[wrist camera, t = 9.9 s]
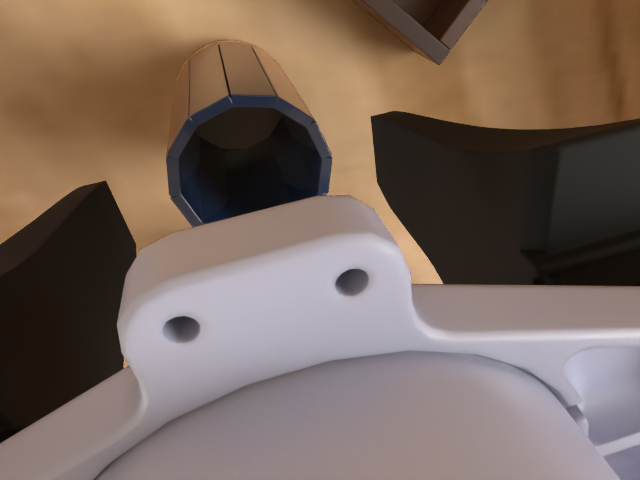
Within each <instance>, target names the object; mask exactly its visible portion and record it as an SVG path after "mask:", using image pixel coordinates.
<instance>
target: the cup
mask: <svg viewBox="0 0 640 480" xmlns="http://www.w3.org/2000/svg"><path fill="white" fill-rule="evenodd" d="M331 155H332V154H331V152H330V150H329V147H328V145H327V143H326V141H325V139H324V137H323V135H322V133H321V131H320V129H319V126H318V124H317V122H316V121H315V119H314V118H313V116H312V114H311V113H310V111H309V110H308V108H307V107H306V105H305V104H304V102H303V100H302V99H301V97H300V96H299V94H298V93H297V91H296V90H295V88H294V87H293V85H292V83H291V82H290V80H289V79H288V77H287V76H286V74H285V73H284V71H283V69H282V68H281V66H280V65H279V63H277V61H276V60H275V59H273V58H272V57H271V56H270V55H269V54H267V53H266V52H265V51H263V50H262V49H260V48H258V47H257V46H255V45H252V44H250V43H247V42H243V41H237V40H223V41H217V42H214V43H210V44H208V45H206V46H204V47H202V48H201V49H199V50H197V51H196V52H195V53H194V54H193V55H192V56H191V57H190V58H189V59H188V60H187V61H186V62H185V64H184V66H183V67H182V69H181V71H180V73H179V76H178V79H177V81H176V83H175V86H174V93H173V102H172V111H171V120H170V128H169V137H168V146H167V155H166V163H167V175H168V187H169V195H170V196H171V200H172V201H173V202H174V204H175V205H176V206H177V207H178V209H179V210H180V211H181V213H182V214H183V215H184V216H185V218H186V219H187V220H188V222H189V223H190V224H191V226H192V227H197V226H201V225H205V224H209V223H212V222H216V221H220V220H224V219H228V218H232V217H236V216H240V215H244V214H248V213H252V212H255V211H259V210H263V209H267V208H271V207H275V206H279V205H283V204H287V203H291V202H295V201H298V200H302V199H306V198H310V197H314V196H327V194H326V193H328V191H329V182H330V174H331V165H332V157H331Z"/></svg>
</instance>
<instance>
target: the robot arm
mask: <svg viewBox="0 0 640 480" xmlns="http://www.w3.org/2000/svg"><path fill="white" fill-rule="evenodd" d="M371 123H372V134H373V144H374V154H375V164H376V174H377V183H378V185H379V187H380V189H381V191H382V193H383V195H384V197H385V199H386V201H387V202H388V204H389V206H390V208H391V209H392V210H393V212H394V213H395V215H396V216H397V217H398V219H399V220H400V221H401V223H402V224H403V225H404V227H405V228H406V229H407V231H408V232H409V233H410V235H411V236H412V237H413V238H414V240H415V241H416V242H417V244H418V245H419V246H420V248H421V249H422V250H423V252H424V253H425V254H426V256H427V257H428V259H429V260H430V262H431V263H432V265H433V266H434V268H435V269H436V271H437V273H438V275H439V276H440V278H441V280H442V282H443V283H444V284H411V273H410V270H409V268H408V266H407V263H406V261H405V259H404V256H403V254H402V252H401V249H400V247H399V246H398V244H397V243H396V241H395V240H394V238H393V237H392V235H391V234H390V232H389V231H388V229H387V228H386V226H385V225H384V223H383V221H382V220H381V218H380V217H379V215H378V214H377V212H376V211H375V209H373V208H371V207H369V206H368V205H366V204H364V203H362V202H361V201H359V200H357V199H355V198H354V197H352V196H350V195H336V196H314V197H310V198H306V199H302V200H298V201H295V202H291V203H287V204H283V205H279V206H275V207H271V208H267V209H263V210H259V211H255V212H252V213H248V214H244V215H240V216H236V217H232V218H228V219H224V220H220V221H216V222H212V223H209V224H205V225H201V226H197V227H193V228H189V229H185V230H181V231H177V232H173V233H171V234H169V235H167V236H165V237H163V238H161V239H159V240H157V241H156V242H154V243H152V244H150V245H148V246H146V247H144V248H142V249H141V250H140V252H139V254H138V255H137V257H136V243H135V241H134V239H133V237H132V235H131V233H130V231H129V229H128V226H127V224H126V222H125V220H124V218H123V216H122V214H121V212H120V210H119V208H118V205H117V203H116V201H115V199H114V197H113V195H112V193H111V191H110V189H109V186H108V184H107V182H106V181H102V182H98V183H94V184H90V185H85V186H82V187H79V188H77V189H75V190H74V191H72V192H71V193H69V194H68V195H66V196H65V197H64V198H62V199H61V200H60V201H58V202H57V203H56V204H54V205H53V206H52V207H51V208H49V209H48V210H47V211H45V212H44V213H43V214H42V215H40V216H39V217H38V218H36V219H35V220H34V221H32V222H31V223H30V224H28V225H27V226H26V227H24V228H23V229H21V230H20V231H19V232H17V233H16V234H14V235H13V236H12V237H10V238H9V239H8V240H6V241H5V242H3V243H2V244H0V480H640V119H634V120H628V121H622V122H616V123H609V124H603V125H596V126H586V127H576V128H564V129H543V130H514V129H498V128H486V127H477V126H471V125H465V124H458V123H453V122H448V121H443V120H438V119H434V118H429V117H425V116H420V115H416V114H411V113H406V112H399V111H392V112H388V113H383V114H379V115H375V116H371ZM124 358H125V360H126V361H127V363H128V365H129V366H127V367H126V368H124V369H123V362H124Z"/></svg>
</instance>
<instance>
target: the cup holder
mask: <svg viewBox="0 0 640 480" xmlns="http://www.w3.org/2000/svg"><path fill="white" fill-rule="evenodd" d="M353 1H354V2H355V3H356V4H357V5H359V6H360V7H361V8H362V9H363V10H365V11H366V12H367V13H368V14H370V15H371V16H372V17H373V18H374V19H376V20H377V21H378V22H379V23H380V24H382V25H383V26H384V27H385V28H387V29H388V30H389V31H390V32H391V33H393V34H394V35H395V36H396V37H398V38H399V39H400V40H401V41H402V42H404V43H405V44H406V45H407V46H408V47H410V48H411V49H412V50H413V51H415V52H416V53H418V54H420V55H421V56H423V57H425V58H427V59H428V60H430V61H432V62H434V63H436V64H438V65H440V64H441V63H442V61H443V60H444V59H445V57H446V56H447V55H448V53H449V52H450V50H451V49H452V48H453V46H454V45H455V44H456V42H457V41H458V40H459V38H460V37H461V36H462V34H463V33H464V32H465V30H466V29H467V28H468V26H469V25H470V24H471V22H472V21H473V20H474V18H475V17H476V16H477V14H478V13H479V11H480V10H481V9H482V7H483V6H484V5H485V3H486V2H487V1H488V0H353Z"/></svg>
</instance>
